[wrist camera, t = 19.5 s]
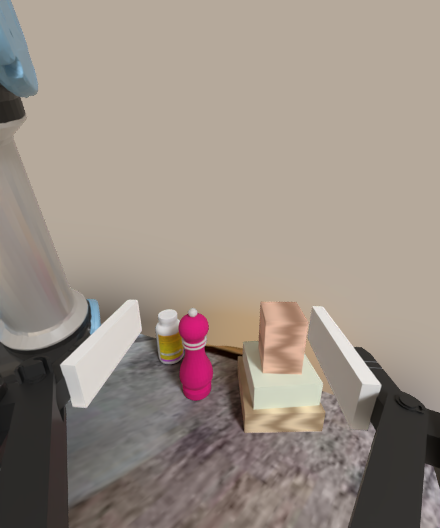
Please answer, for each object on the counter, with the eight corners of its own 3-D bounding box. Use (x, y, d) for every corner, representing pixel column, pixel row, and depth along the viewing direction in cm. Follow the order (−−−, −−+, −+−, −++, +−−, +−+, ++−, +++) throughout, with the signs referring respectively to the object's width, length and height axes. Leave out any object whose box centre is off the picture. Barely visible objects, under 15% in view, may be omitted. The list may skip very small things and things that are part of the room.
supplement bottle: (188, 359, 56) (185, 316, 52) (163, 369, 53) (158, 324, 49) (178, 344, 61) (175, 305, 57) (156, 353, 58) (150, 311, 54)
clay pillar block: (262, 373, 39) (265, 321, 36) (258, 347, 46) (260, 301, 42) (301, 374, 39) (308, 322, 35) (291, 348, 45) (296, 302, 42)
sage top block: (253, 409, 38) (254, 387, 36) (242, 359, 49) (243, 341, 47) (319, 405, 38) (323, 383, 37) (293, 357, 50) (295, 339, 48)
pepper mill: (216, 398, 45) (214, 315, 39) (182, 406, 43) (174, 321, 37) (210, 372, 51) (207, 298, 45) (179, 378, 50) (172, 302, 44)
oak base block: (244, 434, 38) (245, 414, 37) (237, 372, 52) (237, 356, 50) (321, 432, 38) (325, 412, 37) (294, 371, 52) (296, 355, 50)
